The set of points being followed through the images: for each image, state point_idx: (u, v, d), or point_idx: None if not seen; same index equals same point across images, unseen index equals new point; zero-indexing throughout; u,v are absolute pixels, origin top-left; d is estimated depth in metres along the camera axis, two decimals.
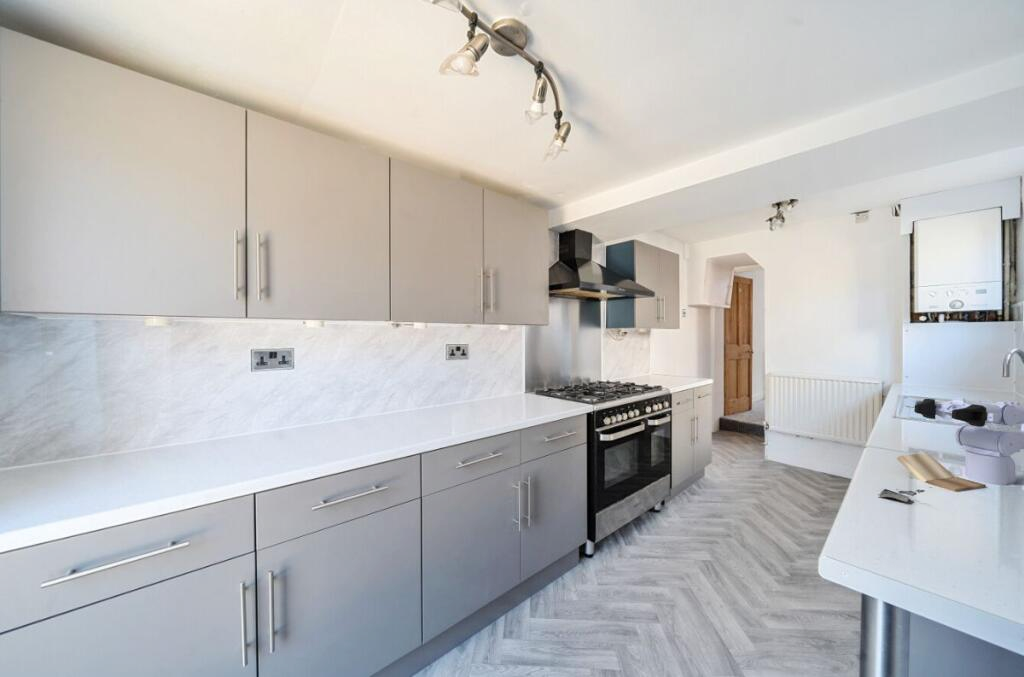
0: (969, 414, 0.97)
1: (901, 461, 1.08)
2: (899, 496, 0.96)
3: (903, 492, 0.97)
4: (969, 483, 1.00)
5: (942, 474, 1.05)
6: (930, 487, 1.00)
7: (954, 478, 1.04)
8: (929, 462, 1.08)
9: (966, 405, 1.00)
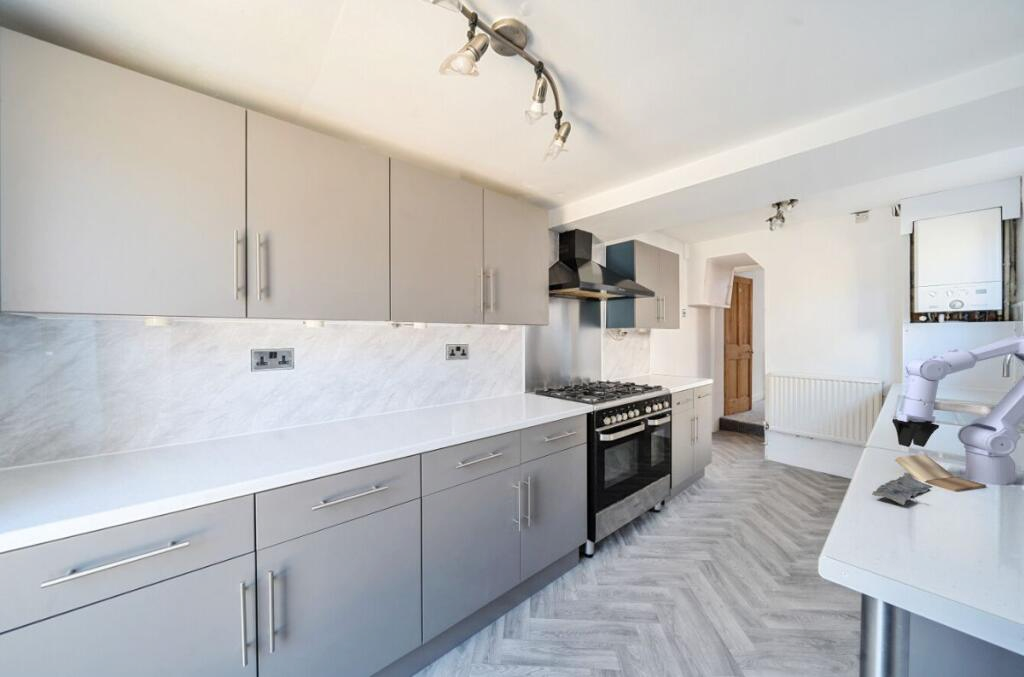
0: (905, 429, 1.07)
1: (899, 462, 1.09)
2: (896, 497, 0.94)
3: (900, 493, 0.95)
4: (969, 483, 1.00)
5: (941, 474, 1.05)
6: (926, 488, 0.98)
7: (954, 478, 1.04)
8: (928, 463, 1.08)
9: None
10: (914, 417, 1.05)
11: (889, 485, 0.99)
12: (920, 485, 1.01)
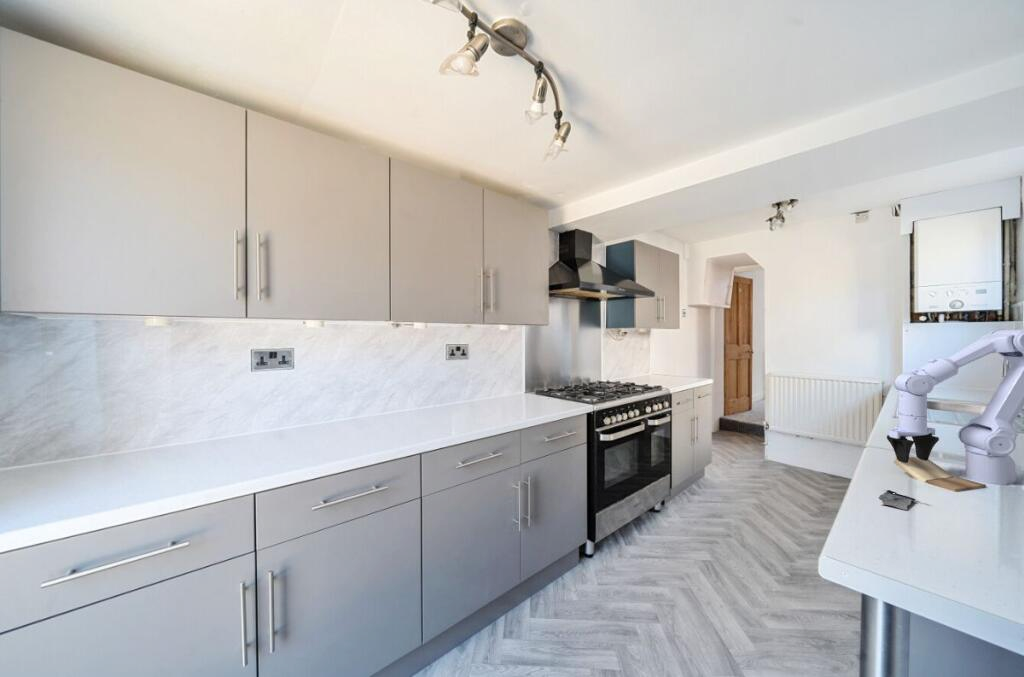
0: (900, 445, 1.09)
1: (898, 464, 1.09)
2: (897, 504, 0.93)
3: (900, 499, 0.94)
4: (969, 483, 1.00)
5: (941, 474, 1.06)
6: None
7: (954, 478, 1.04)
8: (926, 463, 1.09)
9: None
10: (906, 433, 1.07)
11: (888, 494, 0.98)
12: None
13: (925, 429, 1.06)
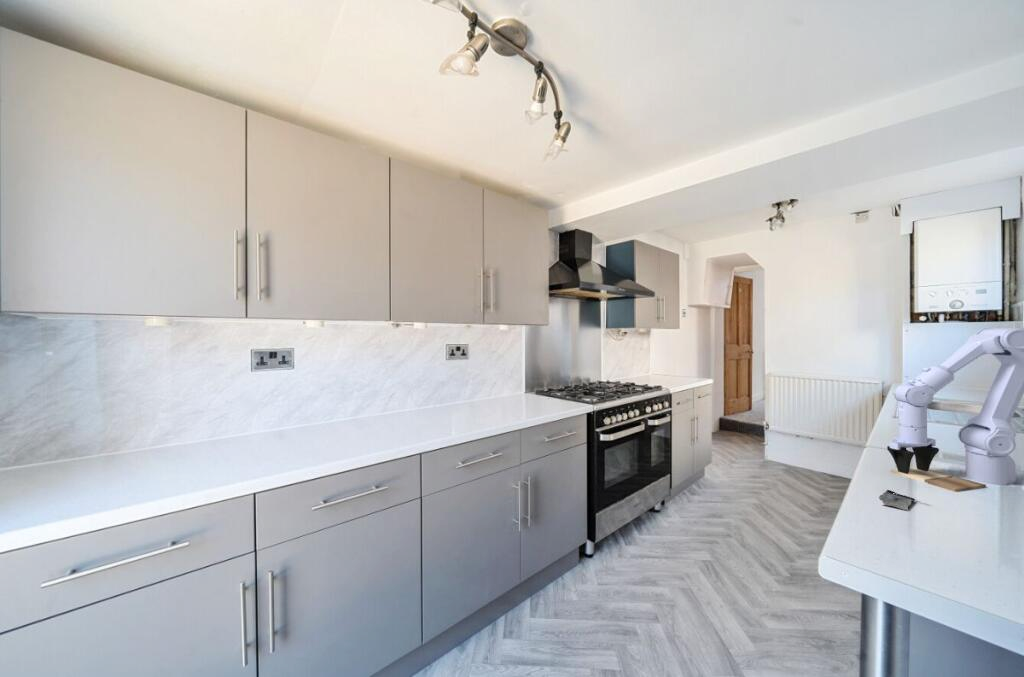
0: (900, 456, 1.09)
1: None
2: (898, 504, 0.92)
3: (900, 500, 0.94)
4: (969, 483, 1.00)
5: (938, 475, 1.06)
6: None
7: (954, 478, 1.04)
8: None
9: None
10: (906, 444, 1.07)
11: (887, 494, 0.98)
12: None
13: (925, 440, 1.06)
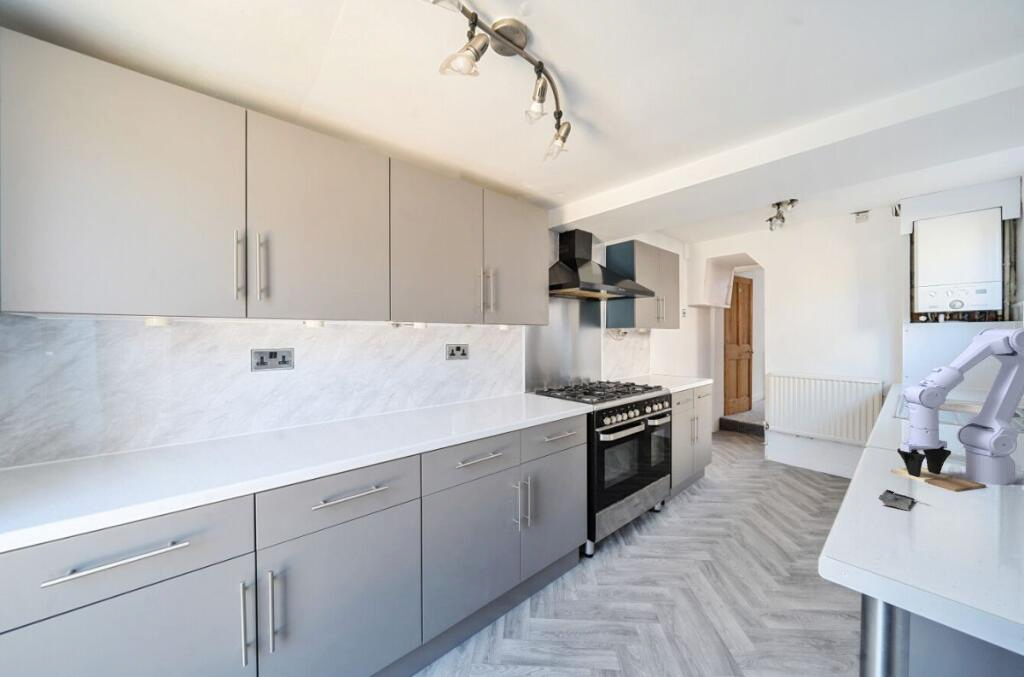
0: (911, 459, 1.06)
1: None
2: (898, 504, 0.92)
3: (901, 500, 0.94)
4: (969, 483, 1.00)
5: (938, 475, 1.06)
6: None
7: (954, 478, 1.04)
8: (922, 470, 1.10)
9: None
10: (917, 447, 1.04)
11: (887, 494, 0.98)
12: None
13: (937, 442, 1.04)
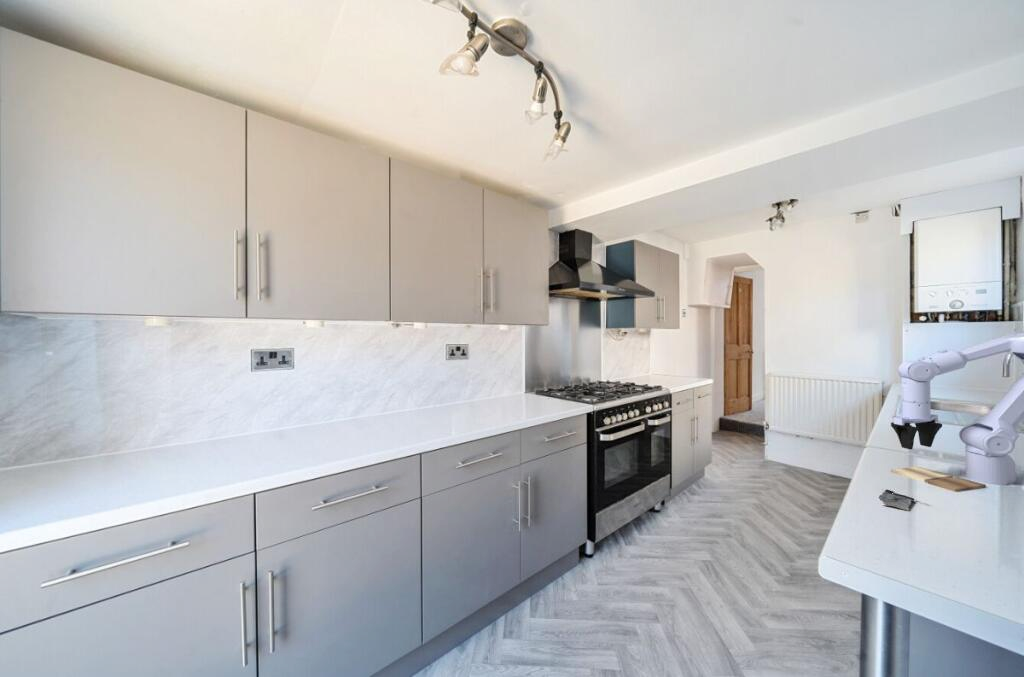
0: (904, 432, 1.09)
1: None
2: (899, 504, 0.92)
3: (900, 499, 0.94)
4: (969, 483, 1.00)
5: (938, 475, 1.06)
6: None
7: (954, 478, 1.04)
8: (922, 470, 1.10)
9: None
10: (910, 420, 1.07)
11: (886, 494, 0.98)
12: None
13: (929, 415, 1.07)
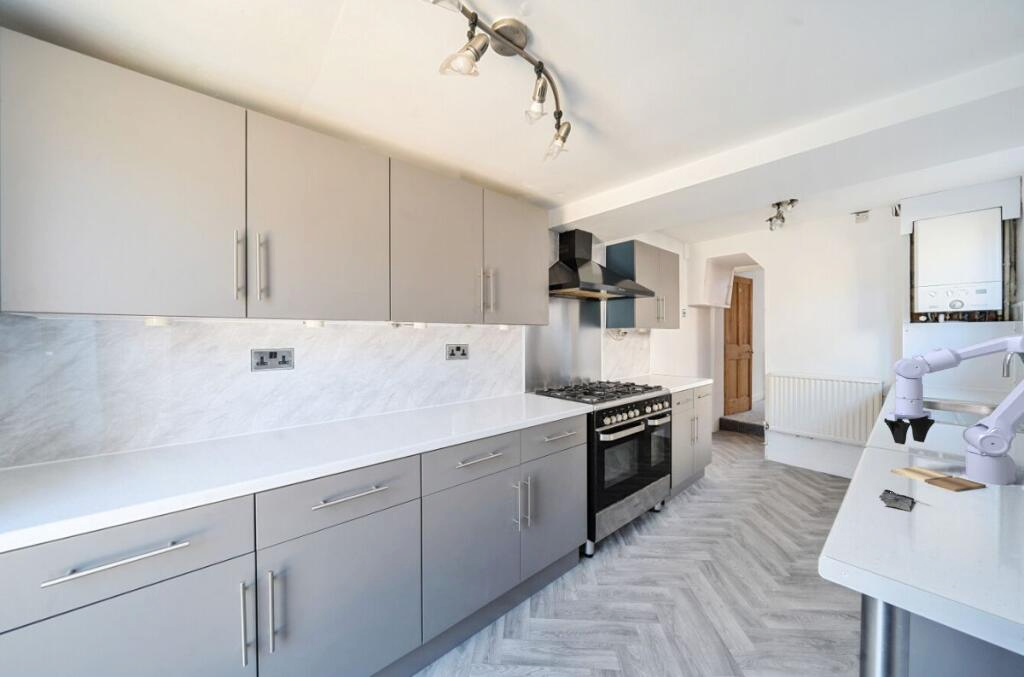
0: (897, 428, 1.12)
1: None
2: (900, 505, 0.92)
3: (901, 500, 0.94)
4: (969, 483, 1.00)
5: (938, 475, 1.06)
6: None
7: (954, 478, 1.04)
8: (922, 470, 1.10)
9: None
10: (902, 415, 1.10)
11: (886, 494, 0.98)
12: None
13: (921, 411, 1.10)
